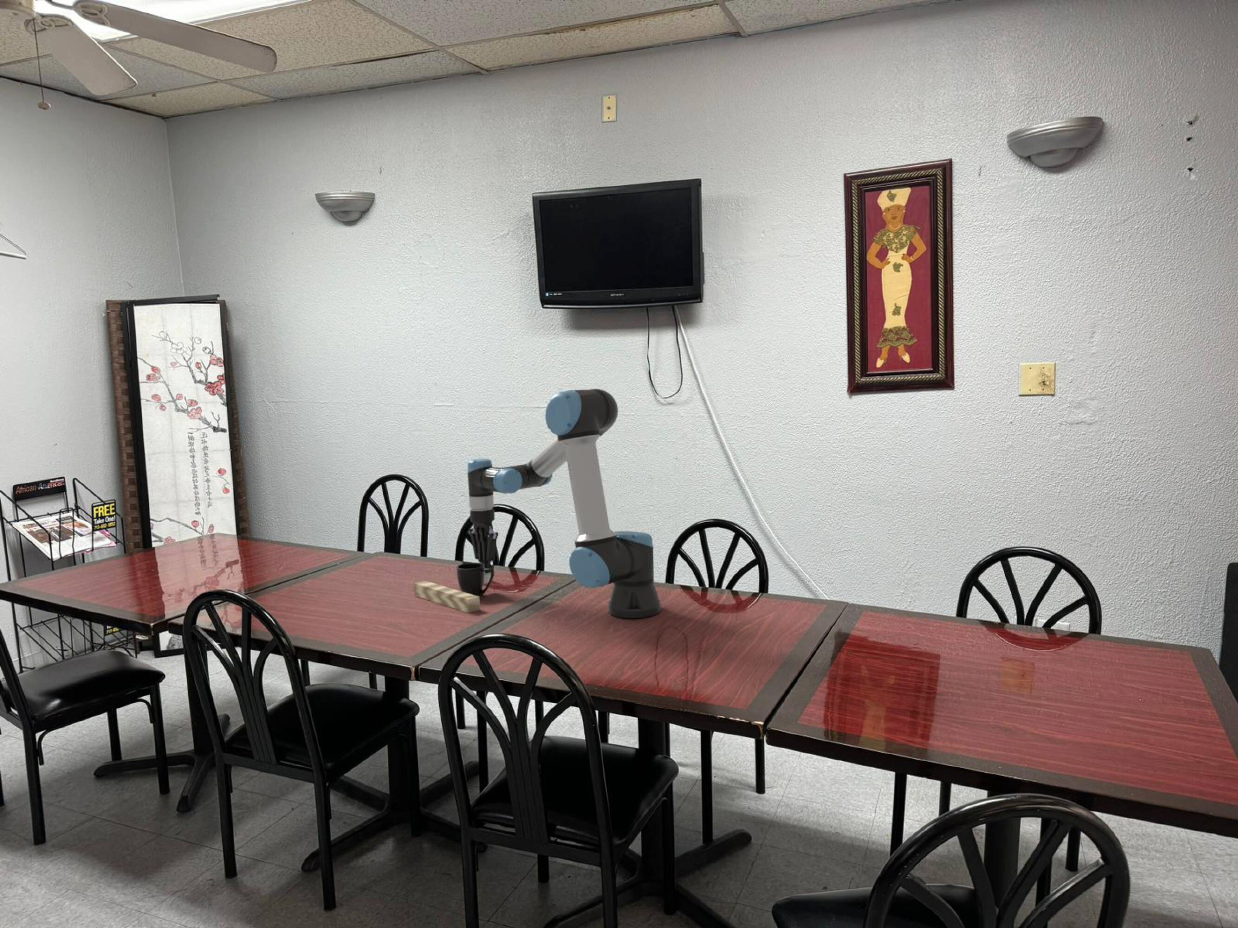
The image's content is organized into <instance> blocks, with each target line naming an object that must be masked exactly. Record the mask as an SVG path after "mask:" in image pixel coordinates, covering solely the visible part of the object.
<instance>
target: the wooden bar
mask: <svg viewBox="0 0 1238 928" xmlns="http://www.w3.org/2000/svg"><path fill="white" fill-rule="evenodd" d="M413 587H414V588H413V589H414V591H413V592H414V596H415V597H419V598H422V599H423V600H427V601H431V602H433V603H436V604H440V605H443V606H446V607H449V608H452V609H454V610H458V611H461V612H464V613H468V614H470V613H474V612H478V611H481V604H480V603H481V601H480V596H475V595H472V594H469V593H465V592H462V591H461V590H458V589H456V588H455V589H454V588H451V587H448V586H443V585H440V584H438V583H434V582H431V581H427V580H421V581H418V582H413Z"/></svg>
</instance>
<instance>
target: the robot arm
mask: <svg viewBox="0 0 1238 928" xmlns="http://www.w3.org/2000/svg"><path fill="white" fill-rule="evenodd" d="M618 414H619V407H618V403H617V401H616V398H614V397H613V395H612V394H611V393H609V392H608V391H606V390H603V389H600V388H591V389H572V390H571V389H570V390H569V389H568V390H566V391H565V390H564V391H560V392H557V393H555V394H554V395H552V396H551V398H550V399H549V402H547V405H546V408H545V415H544V416H545V423H546V427H547V428H548V430H550V432H551V433H552V434H554V435H555V436H556V437H555V438H554V439H553V440H552V441H550V443H548V444H547V445H546V446H545V447H544V448H543V449H541V451H540V452H538V453H537V455H535V456H534V457H533V458H532V459H531V460H530V461H529V462H527V463H524V464H523V463H522V464H519V465H511V466H505V467H496V466H493V461H492V460H491V459H489V458H477V459H476V458H475V459H470V460H469V461H468V462H467V473H466V474H467V483H468V501H469V502H468V504H469V509H470V510H469V517H470V518H469V519H470V522H471V523H473V524H472V528H468V532H469V535H470V539H471V544H472V551H473V554H474V559H475V560H478V563H481V564H483V566H484V569H485V568H492V567H491V563H492V562H495V560H496V552H497V551H496V550H497V549H496V548H497V539H498V536H499V532H497V531H496V532H495V531H494V527H493V522H494V521H495V518H496V517H495V509H494V506H495V505H494V503H495V502H494V493H500V494H504V495H506V494H515V493H517V492H518V491H519V490H525V489H530V488H540V487H543V486H546V485H549V483H550V482H551V481H552V478H553V474H554V473H555V472H556V471H557V470H558V469H560V468H561V467H562V466H563V465H564V464H565V463H566V462H567V463H566V464H567V470H568V476H569V481H570V482H569V483H570V487H571V493H572V500H573V506H574V511H575V518H576V523H577V530H578V534H577V536H576V538H575V539H574V547H575V549H573V550H572V552H571V553H570V556H569V561H568V565H569V569H570V572H571V575H572V577H573V578H574V579H575V580H576V582H578V583H579V585H581V587H585V588H587V589H595V588H603V587H606V586H607V585H611V584H613V587H612V591H611V595H610V600H609V601H608V604H607V605H608V606H607V607H608V614H610V615H611V616H614V617H617V618H622V619H624V618H625V619H639V618H640V619H641V618H648V617H649V618H650V617H652V616H655V615H657V614H660V612H661V611H662V607H661V605H662V604H661V600H660V598H659V596H658V592H657V589H656V586H655V571H654V565H655V563H654V549H655V548H654V544H653V537H652V535H650V534H649V533H646V532H642V531H631V530H628V531H627V530H626V531H625V530H624V531H623V530H620V531H619V530H618V531H613V530H612V529H611V528H610V523H609V517H608V511H607V504H606V499H605V492H604V486H603V480H602V479H603V478H602V474H601V467H600V463H599V462H600V461H599V455H598V449H597V441H598V439H599V438H600V437H602V436H604V434H605V433H606V432H607V431H609V430H610V429H611V428H612V427H613V426H614V424H615V423H616V421H617V420H618ZM490 577H491V571H490V570H485V571H484V582H483V585H484V584H488V582H489V580H490Z"/></svg>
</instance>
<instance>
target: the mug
mask: <svg viewBox="0 0 1238 928" xmlns="http://www.w3.org/2000/svg"><path fill="white" fill-rule="evenodd" d="M485 570H490V571H491V572H490V573H491V577H490V580H489V582H488V583H486V586H485V587H484V584H483V582H484V571H485ZM456 575H457V581H458V585H459V589H460V591H462V592H465V593H469V594H472V595H475V596H479V597H481V596H483V595H485V594H486V593H487V590H488V589H489V587H490V585H491V583H492V581H493V579H494V576H495V569H494V568H492V567H491V568H485V569H484V566H483V564H481V563H480V562H466V563H462V564H459V565H457V566H456ZM483 587H484V588H483Z"/></svg>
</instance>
